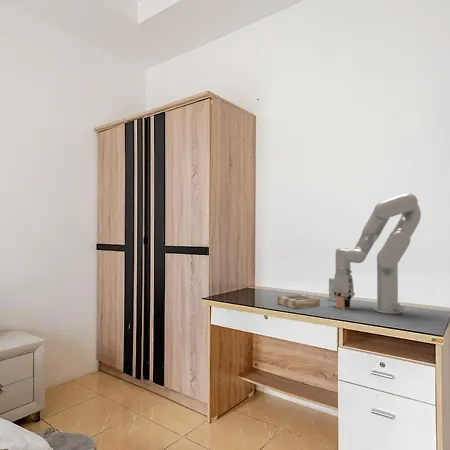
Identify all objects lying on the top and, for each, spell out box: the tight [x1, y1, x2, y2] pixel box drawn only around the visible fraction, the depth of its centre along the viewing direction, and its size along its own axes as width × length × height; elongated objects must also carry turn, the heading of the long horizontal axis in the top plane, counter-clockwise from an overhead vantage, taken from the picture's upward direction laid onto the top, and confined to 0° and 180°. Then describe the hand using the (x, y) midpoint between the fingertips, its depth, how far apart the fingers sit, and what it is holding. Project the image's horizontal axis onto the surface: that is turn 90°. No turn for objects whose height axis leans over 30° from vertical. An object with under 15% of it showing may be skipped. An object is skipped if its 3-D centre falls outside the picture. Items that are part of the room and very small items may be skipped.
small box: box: [328, 277, 345, 302], centre depth 212 cm, size 8×6×13 cm
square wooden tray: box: [277, 293, 321, 310], centre depth 198 cm, size 16×16×4 cm
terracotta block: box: [335, 295, 351, 310], centre depth 191 cm, size 5×5×6 cm
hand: (343, 306), depth 191 cm, fingers closed on terracotta block, 5 cm apart
